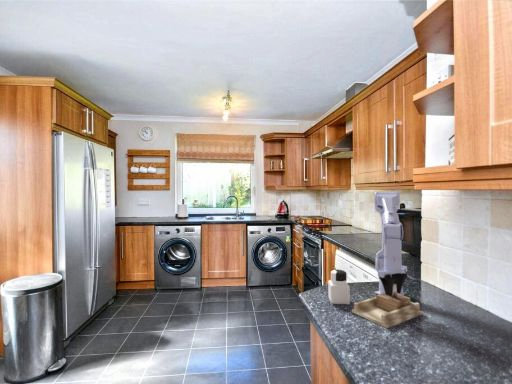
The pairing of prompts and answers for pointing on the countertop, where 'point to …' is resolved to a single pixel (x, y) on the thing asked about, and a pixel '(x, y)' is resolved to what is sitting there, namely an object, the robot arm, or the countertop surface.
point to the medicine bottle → (338, 288)
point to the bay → (385, 312)
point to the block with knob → (392, 300)
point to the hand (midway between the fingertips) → (393, 293)
